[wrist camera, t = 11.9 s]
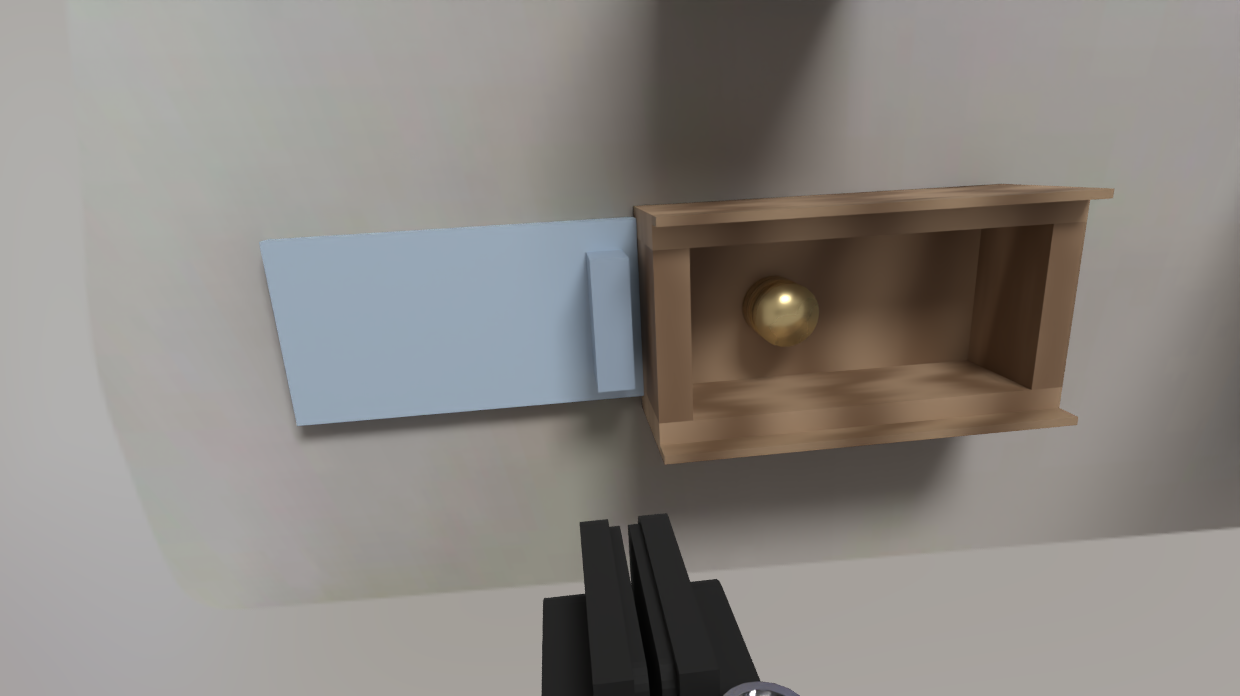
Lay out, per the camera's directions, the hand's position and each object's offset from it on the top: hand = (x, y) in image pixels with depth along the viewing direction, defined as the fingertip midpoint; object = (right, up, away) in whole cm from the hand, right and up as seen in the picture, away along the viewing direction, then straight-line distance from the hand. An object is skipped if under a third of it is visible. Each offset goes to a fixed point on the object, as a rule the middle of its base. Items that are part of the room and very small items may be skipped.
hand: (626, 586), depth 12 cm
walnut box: (+11, +7, +23) cm, 27 cm away
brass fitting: (+8, +7, +22) cm, 24 cm away
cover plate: (-8, +6, +22) cm, 24 cm away
